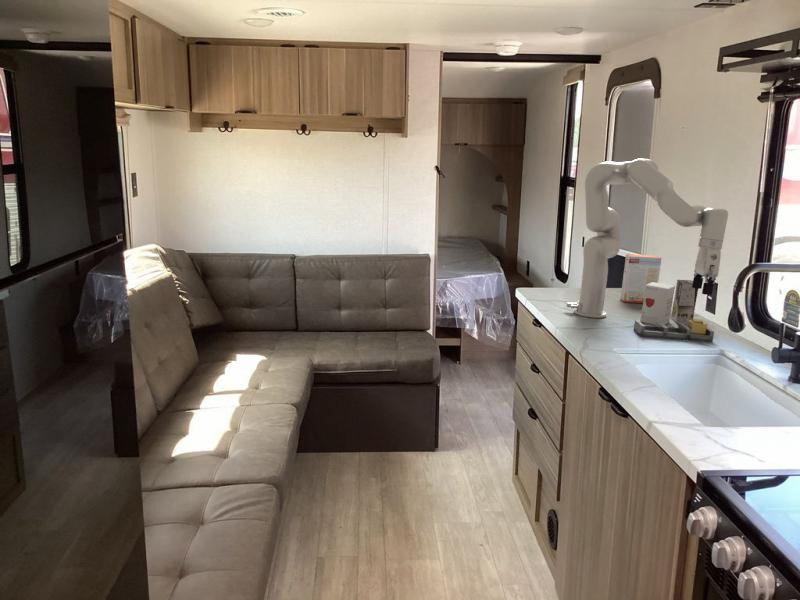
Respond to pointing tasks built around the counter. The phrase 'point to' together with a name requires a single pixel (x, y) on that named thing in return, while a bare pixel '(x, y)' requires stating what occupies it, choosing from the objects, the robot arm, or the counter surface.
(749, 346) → the counter surface
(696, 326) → the cage nut
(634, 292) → the cracker box
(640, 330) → the grey compartment tray
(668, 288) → the supplement box
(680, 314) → the coffee box
